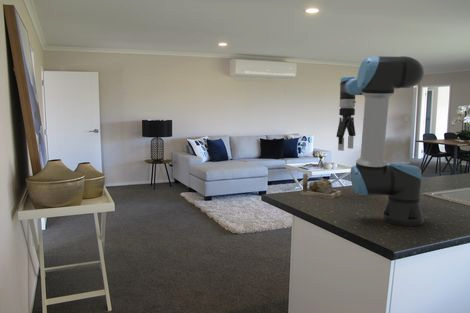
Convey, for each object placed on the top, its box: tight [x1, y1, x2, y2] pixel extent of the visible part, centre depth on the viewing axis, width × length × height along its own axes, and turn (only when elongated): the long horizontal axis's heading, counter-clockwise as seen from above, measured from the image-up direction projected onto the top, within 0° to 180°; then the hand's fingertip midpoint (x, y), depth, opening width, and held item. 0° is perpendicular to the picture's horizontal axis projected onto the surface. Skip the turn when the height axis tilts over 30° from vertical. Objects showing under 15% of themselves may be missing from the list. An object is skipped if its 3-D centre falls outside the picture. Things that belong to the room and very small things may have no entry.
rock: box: [308, 178, 334, 194], centre depth 198 cm, size 12×7×10 cm, turn 45°
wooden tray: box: [300, 173, 343, 200], centre depth 198 cm, size 13×17×11 cm
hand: (345, 149), depth 194 cm, fingers open, 13 cm apart
